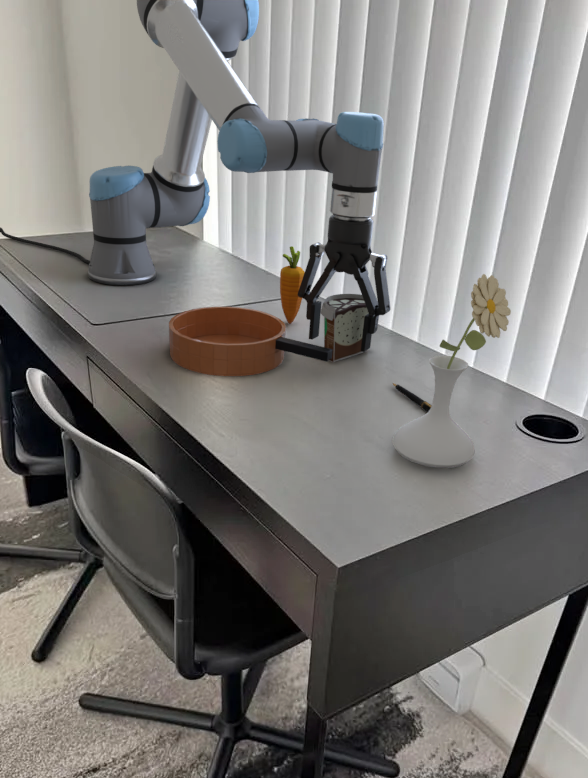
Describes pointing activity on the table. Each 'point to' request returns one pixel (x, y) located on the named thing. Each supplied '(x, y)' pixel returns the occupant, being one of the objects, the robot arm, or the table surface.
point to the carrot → (291, 286)
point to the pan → (226, 341)
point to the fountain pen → (414, 398)
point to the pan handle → (304, 349)
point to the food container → (344, 324)
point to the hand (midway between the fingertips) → (339, 343)
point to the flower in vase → (436, 428)
